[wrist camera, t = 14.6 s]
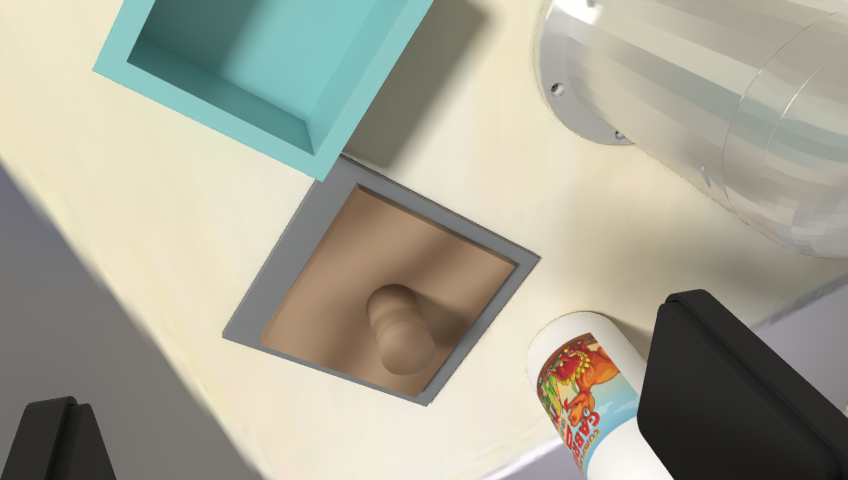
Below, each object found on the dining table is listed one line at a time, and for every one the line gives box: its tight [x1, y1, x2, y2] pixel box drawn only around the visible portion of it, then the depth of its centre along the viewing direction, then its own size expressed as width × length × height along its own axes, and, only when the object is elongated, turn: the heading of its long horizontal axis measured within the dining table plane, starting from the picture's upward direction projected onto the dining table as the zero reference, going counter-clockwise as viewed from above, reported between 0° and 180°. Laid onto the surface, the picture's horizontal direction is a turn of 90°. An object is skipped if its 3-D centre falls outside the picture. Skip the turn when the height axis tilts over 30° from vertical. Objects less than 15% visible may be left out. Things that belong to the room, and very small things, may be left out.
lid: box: [260, 183, 515, 398], centre depth 41 cm, size 12×12×6 cm
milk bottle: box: [525, 312, 674, 480], centre depth 43 cm, size 8×8×20 cm
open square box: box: [92, 0, 434, 182], centre depth 31 cm, size 11×11×6 cm
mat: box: [222, 154, 539, 407], centre depth 44 cm, size 16×14×1 cm
